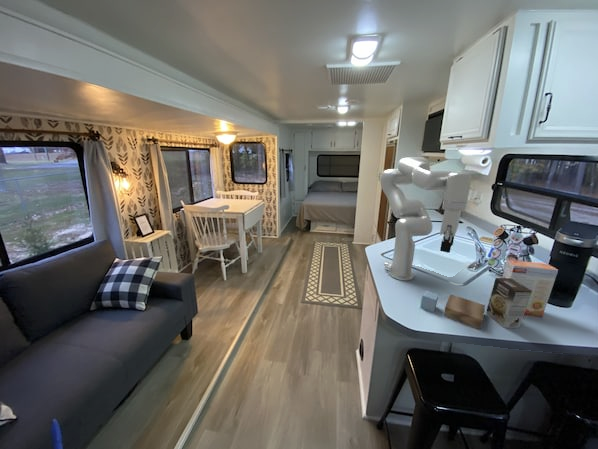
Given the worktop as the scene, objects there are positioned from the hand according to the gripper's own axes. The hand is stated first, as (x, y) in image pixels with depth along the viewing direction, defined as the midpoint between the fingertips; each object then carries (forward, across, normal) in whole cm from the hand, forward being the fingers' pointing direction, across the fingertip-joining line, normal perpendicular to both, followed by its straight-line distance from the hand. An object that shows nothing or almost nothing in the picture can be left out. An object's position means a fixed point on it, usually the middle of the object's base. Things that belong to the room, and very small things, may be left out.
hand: (446, 248), depth 94 cm
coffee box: (+27, -6, +22) cm, 35 cm away
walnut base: (+26, 0, +10) cm, 28 cm away
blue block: (+26, +3, -2) cm, 27 cm away
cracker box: (+27, -18, +28) cm, 43 cm away
